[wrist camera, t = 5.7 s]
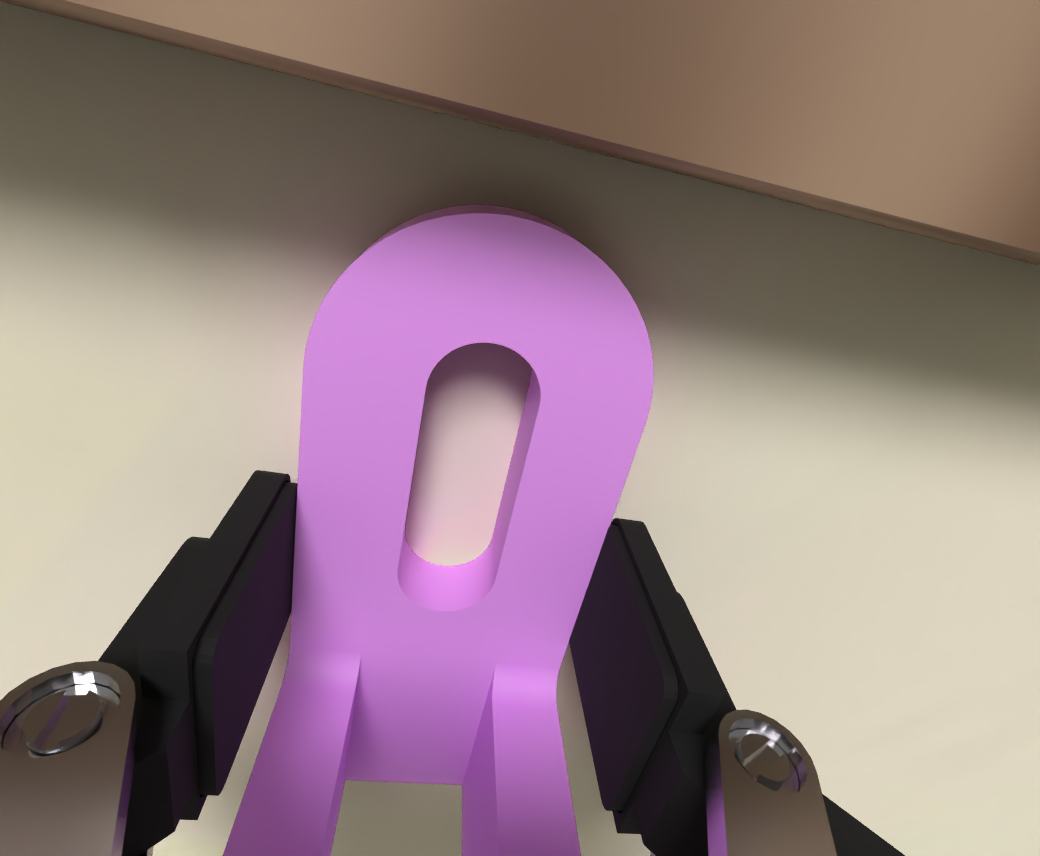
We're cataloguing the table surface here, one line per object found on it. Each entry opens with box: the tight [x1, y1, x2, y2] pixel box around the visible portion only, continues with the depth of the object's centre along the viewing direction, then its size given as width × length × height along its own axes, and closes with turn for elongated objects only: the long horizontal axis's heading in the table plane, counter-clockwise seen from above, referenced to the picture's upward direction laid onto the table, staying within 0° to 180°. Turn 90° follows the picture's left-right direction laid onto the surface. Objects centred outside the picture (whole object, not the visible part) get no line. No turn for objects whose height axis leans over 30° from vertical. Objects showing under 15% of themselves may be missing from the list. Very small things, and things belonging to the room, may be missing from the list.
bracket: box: [223, 205, 654, 856], centre depth 9 cm, size 13×6×7 cm, turn 168°
